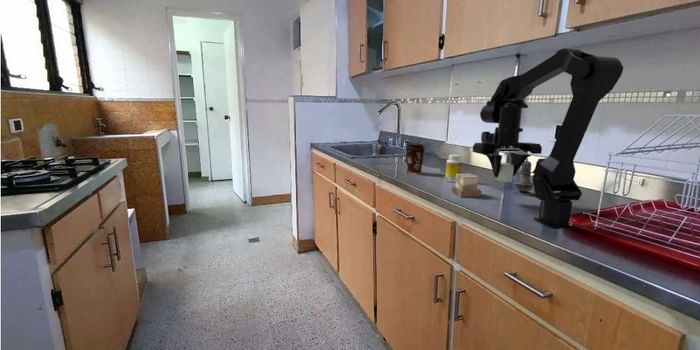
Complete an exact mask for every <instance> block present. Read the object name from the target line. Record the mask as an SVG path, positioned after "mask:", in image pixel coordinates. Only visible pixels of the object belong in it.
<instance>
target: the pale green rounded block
mask: <svg viewBox="0 0 700 350" xmlns="http://www.w3.org/2000/svg"><path fill="white" fill-rule="evenodd" d="M513 171H514V164H511V162H510V163H509V162H501V165H500V170H499V174H498V177H494V180H495V181H496V182H500V183H513V180H514V179H513V178H514V177H513Z"/></svg>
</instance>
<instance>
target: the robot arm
mask: <svg viewBox="0 0 700 350" xmlns="http://www.w3.org/2000/svg"><path fill="white" fill-rule="evenodd" d="M623 71H624V65H622V62H621V60H620V59H619V58H617V57H614V56H601V55H600V56H599V55H596V54H595V55H594V54H592V53H589V52H588V53H587V52H585V51H582V50H580V49H579V48H577V49H576V48H562V49H558V50H557V51H556V52H555V54H553V55H551V56H550V57H548V58H547V59H544V61H541V62H540V63H537V65H534V67H532V68H530V69H528V70H526V71H525V72H523V73H522V74H521V73H520V74H518V75H514V76H509V77H507V78H504V79H502V80H501V81H500V82H499V83H498V86H497V88H496V90H495V91H494V93H493V95H492V96H491V98H490V100H487V101H486V105H484V106H483V107H482V108H481V110H480V113H479V117H480V120H481V121H482V122H484V123H489V124H498V126H495V128H494V132H492V133H491V132H490V131H482V132H481V135H480V141H481V142H475V143H474V144H473V146H472V152H473V153H475V154H481V155H483V156H486V157H487V159H488V161H489V164H490V166H491V170H492V173H493V176H494V178H495V177H498V174H499V170H500V165H501V163H502V159H503V155H501V154H500V152H510V153H509V154H510V158H511V162H510V164H514V171H513V178H515V176H516V174H517V173H518V171H520V169H521V166H522V164H523V163H524V161H526V159H529V157H530V158H531V154H532V155H540V154H541V155H542V150H543V147H542V145H541V143H535V142H519V139H520V133H523V130H524V128H523V127H521V122H522V121H521V120H522V111H523V109H528V108H529V105H528V104H527V103H526V102H525V101H524V100H525V99H526V98H527V97H529V96H530V95H531V94H532V93H533V90H534V89H535V88H537V87H538V86H540V85H542V84H544V83H546V82H547V81H549V80H552V79H553V78H555V77H558V76H559V75H561V74H562V73H565V74H568V75H570V76H571V80H570V84H569V85H570V90H571V94H572V98H571V101H570V103H569V106H568V108H567V111H566V114H565V116H564V119H563V120H562V123H561V126H560V129H559V132H558V134H557V136H556V139H555V141H554V144H553V147H552V150H551V152H550V154H549V155H548V156H547V157H546V158H538V159H537V160H536V163H535V167H534V170H533V171H531V172H532V173H531V174H533V176H532V183H533V192H534V196H535V197H534V198H535V199H538V200H540V205H539V206H540V207H539V215H538V216H534V217H533V220H535V221H537V222H539V223H541V224H542V225H545V226H548V227H549V228H567V227H568V228H569V227H570V225H569V223H568V222H569V221H571V220H570V219H571V214H572V206H573V201H580V199H581V197H582V195H583V193H582V190H581V189H580V187H579V186H578V184H577V183H576V181H575V176H576V169H575V168H576V166H575V164H574V160H575V157H576V155H577V153H578V151H579V149H580V146H581V144H582V141H583V139H584V137H585V135H586V132H587V130H588V127H589V126H590V122H591V120H592V118H593V116H594V113H595V111H596V109H597V107H598V105H599V102H600V101H601V100H602V99H603V98H605V96H607V95H608V94H609V93H610V92H611V91H612V90H613V89H614V88H615V86H616V84H617V83H618V81H619V79H620V78H621V77H622V74H623ZM529 153H530V154H529Z"/></svg>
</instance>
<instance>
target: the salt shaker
mask: <svg viewBox="0 0 700 350" xmlns="http://www.w3.org/2000/svg"><path fill="white" fill-rule="evenodd" d="M532 172H533V171H532V162H531V161H529V158H527V159H526V160H525V161H524V163H523V164H522V165H521V167H520V170H519V174H520V175H519V180H517V181H514V184H515V188H516V189H517V190H516V191H514V194H515V195H519V196H525V197H526V196H527V197H528V196H533V193H532V192H530V191H531V190H532V189H534V185H533V182H531V174H533V173H532Z"/></svg>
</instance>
